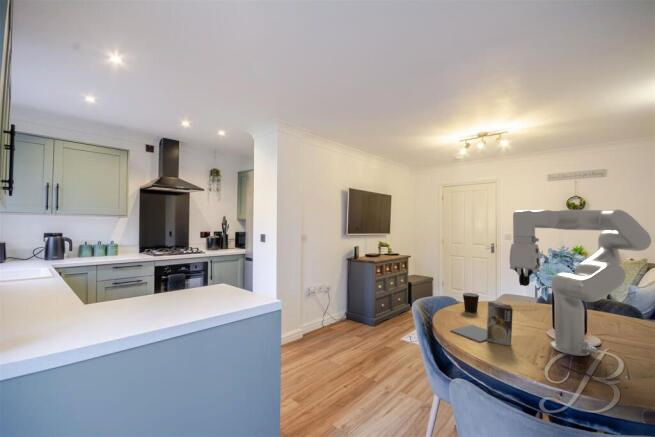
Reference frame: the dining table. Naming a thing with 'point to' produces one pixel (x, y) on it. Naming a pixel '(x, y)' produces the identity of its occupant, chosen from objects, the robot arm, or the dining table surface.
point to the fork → (589, 375)
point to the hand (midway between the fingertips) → (524, 285)
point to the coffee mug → (470, 302)
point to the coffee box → (499, 323)
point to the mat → (472, 333)
